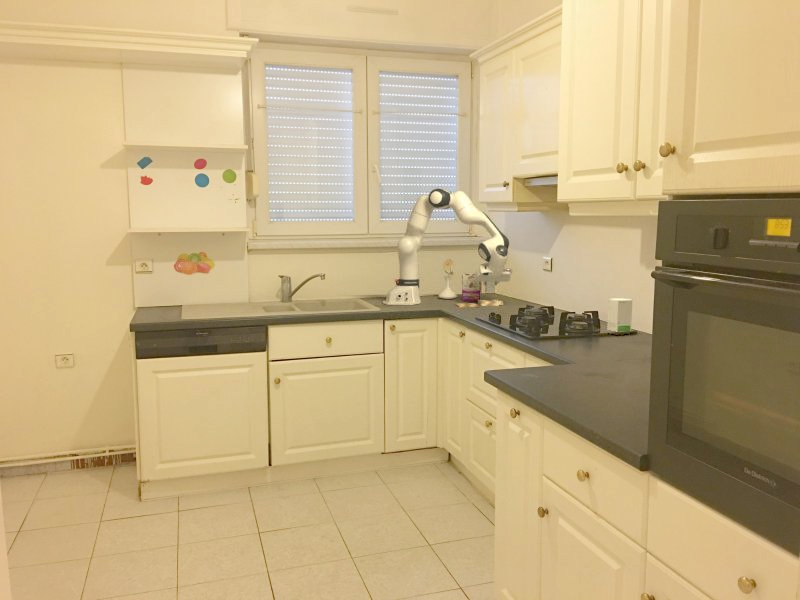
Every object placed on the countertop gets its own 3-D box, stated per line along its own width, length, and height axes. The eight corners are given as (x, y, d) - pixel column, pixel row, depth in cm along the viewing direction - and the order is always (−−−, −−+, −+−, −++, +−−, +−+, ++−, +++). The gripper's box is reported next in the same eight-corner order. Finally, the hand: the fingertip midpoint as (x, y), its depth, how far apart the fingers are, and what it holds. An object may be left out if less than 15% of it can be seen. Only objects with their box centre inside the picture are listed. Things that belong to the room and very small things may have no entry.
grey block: (486, 292, 380) (486, 278, 379) (484, 292, 382) (485, 278, 381) (494, 292, 381) (495, 278, 380) (493, 292, 383) (493, 278, 382)
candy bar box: (481, 300, 401) (482, 273, 399) (480, 301, 396) (480, 274, 394) (463, 300, 404) (463, 273, 402) (461, 301, 400) (462, 273, 397)
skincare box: (616, 336, 285) (618, 300, 283) (605, 333, 291) (607, 298, 289) (631, 335, 288) (633, 299, 286) (620, 332, 294) (622, 297, 292)
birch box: (480, 305, 378) (480, 301, 378) (477, 304, 385) (477, 300, 385) (502, 305, 380) (503, 301, 380) (499, 303, 387) (499, 299, 387)
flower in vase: (435, 298, 414) (436, 257, 411) (452, 297, 417) (453, 257, 414) (443, 300, 401) (443, 259, 398) (460, 299, 405) (461, 258, 402)
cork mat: (459, 307, 373) (459, 306, 373) (454, 304, 385) (454, 303, 384) (479, 306, 374) (479, 306, 374) (474, 304, 386) (474, 303, 386)
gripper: (512, 264, 374) (506, 280, 385) (476, 264, 371) (471, 280, 382) (514, 273, 370) (508, 288, 381) (478, 273, 367) (473, 288, 378)
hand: (489, 284), depth 382 cm, fingers closed on grey block, 5 cm apart
